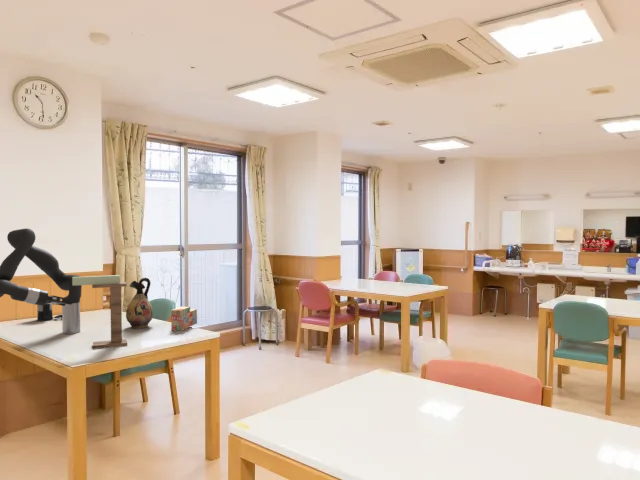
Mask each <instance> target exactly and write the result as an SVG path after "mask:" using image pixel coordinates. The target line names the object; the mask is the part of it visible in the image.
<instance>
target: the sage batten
mask: <svg viewBox="0 0 640 480" xmlns="http://www.w3.org/2000/svg"><path fill="white" fill-rule="evenodd" d="M120 282H121V275H120V274H117V275H110V274H109V275H88V276H87V275H85V276H79V277H72V286H74V285H82V286H92V285H96V284H118V283H120Z"/></svg>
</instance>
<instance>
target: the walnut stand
mask: <svg viewBox="0 0 640 480" xmlns="http://www.w3.org/2000/svg"><path fill="white" fill-rule="evenodd" d="M127 284H128V283H127V282H126V281H120V283H118V284H96V285H91V286H92V289H101V288H109V289H110V296H109V297H110V299H109V300H110V340H101V341H100V340H99V341H93V342H92V349H93V350H95V349H96V348H97V349H103V348H115V347H117V348H118V347H127V346H128V341H127V338H123V327H122V325H123V323H122V320H123V319H122V318H123V317H122V316H123V315H122V314H123V313H122V312H123V311H122V308H123V307H122V288H123V287H127ZM97 349H96V350H97Z"/></svg>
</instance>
